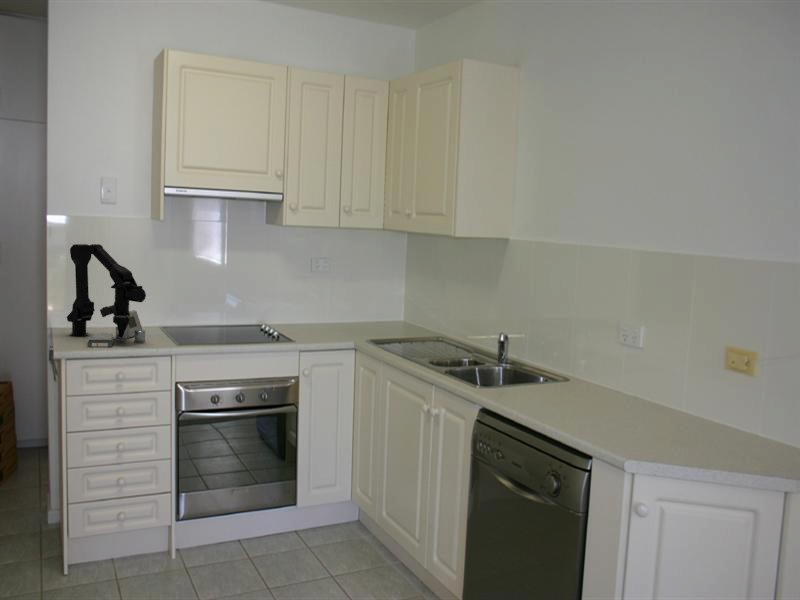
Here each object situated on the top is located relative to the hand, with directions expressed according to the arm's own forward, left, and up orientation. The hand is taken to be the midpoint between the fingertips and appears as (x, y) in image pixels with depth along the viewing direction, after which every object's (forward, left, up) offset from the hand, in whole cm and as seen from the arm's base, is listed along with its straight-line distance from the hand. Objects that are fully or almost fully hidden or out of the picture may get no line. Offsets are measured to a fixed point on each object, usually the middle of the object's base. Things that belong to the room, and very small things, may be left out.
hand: (121, 336), depth 313 cm
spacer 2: (0, +8, -3) cm, 8 cm away
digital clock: (-16, +4, -3) cm, 17 cm away
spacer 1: (0, 0, -1) cm, 1 cm away
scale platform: (+7, -8, +1) cm, 10 cm away
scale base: (+7, -8, -2) cm, 10 cm away
